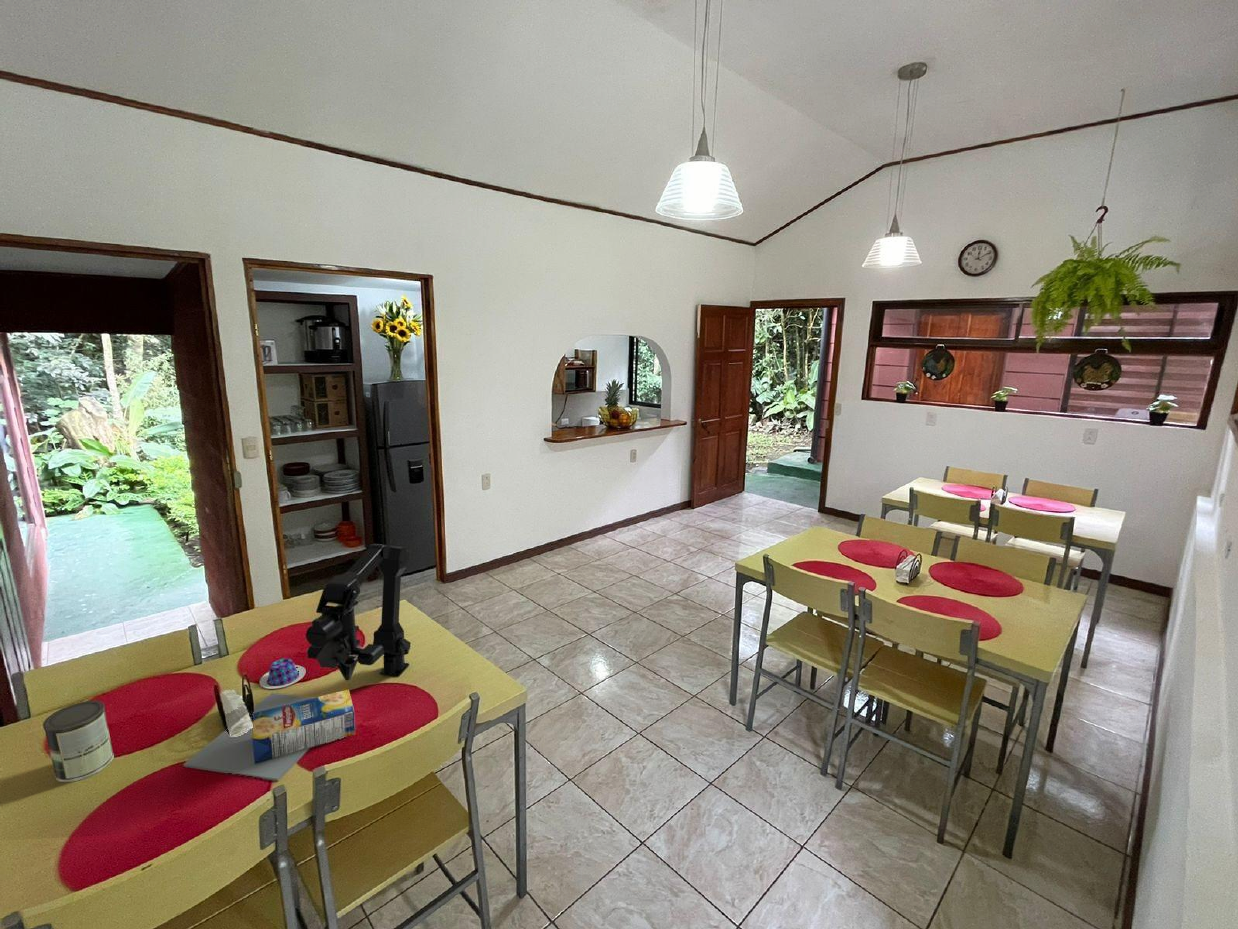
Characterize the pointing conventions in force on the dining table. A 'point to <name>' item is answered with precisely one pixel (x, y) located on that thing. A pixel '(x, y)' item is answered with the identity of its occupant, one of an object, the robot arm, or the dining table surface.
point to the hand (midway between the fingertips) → (348, 679)
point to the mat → (246, 750)
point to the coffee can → (78, 741)
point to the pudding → (282, 674)
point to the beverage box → (302, 725)
